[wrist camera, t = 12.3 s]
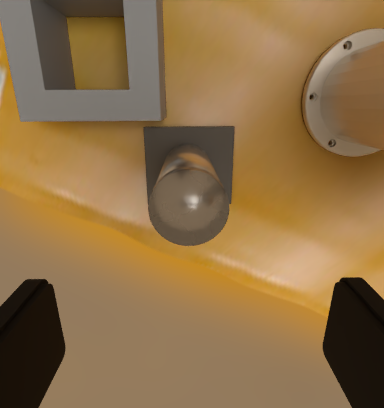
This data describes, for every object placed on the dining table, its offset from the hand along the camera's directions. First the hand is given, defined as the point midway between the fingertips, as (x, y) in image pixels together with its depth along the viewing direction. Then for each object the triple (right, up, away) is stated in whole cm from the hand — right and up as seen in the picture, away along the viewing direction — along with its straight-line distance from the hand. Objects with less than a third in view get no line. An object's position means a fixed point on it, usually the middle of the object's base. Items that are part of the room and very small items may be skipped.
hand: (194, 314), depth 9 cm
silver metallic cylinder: (-1, +8, +23) cm, 24 cm away
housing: (-9, +19, +19) cm, 28 cm away
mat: (0, +8, +23) cm, 25 cm away
